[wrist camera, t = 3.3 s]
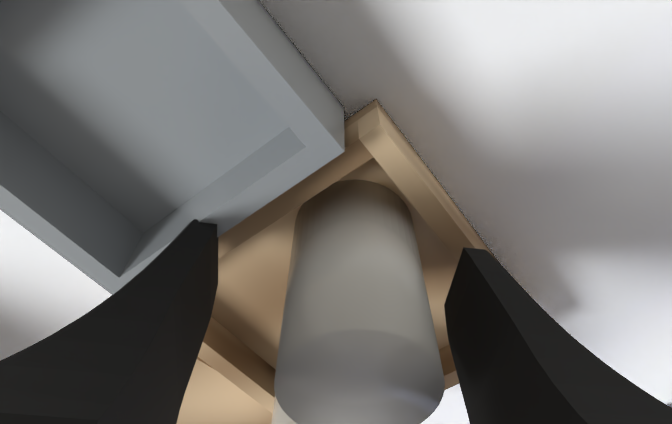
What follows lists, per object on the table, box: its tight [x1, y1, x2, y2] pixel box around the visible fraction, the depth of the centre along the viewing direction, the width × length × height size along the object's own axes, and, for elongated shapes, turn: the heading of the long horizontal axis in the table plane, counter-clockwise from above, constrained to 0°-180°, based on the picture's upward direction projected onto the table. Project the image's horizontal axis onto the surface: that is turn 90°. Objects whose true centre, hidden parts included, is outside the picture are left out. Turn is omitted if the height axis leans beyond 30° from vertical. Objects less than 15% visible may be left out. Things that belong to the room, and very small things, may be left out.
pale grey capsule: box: [274, 179, 445, 424], centre depth 13 cm, size 3×3×6 cm
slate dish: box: [0, 0, 345, 295], centre depth 12 cm, size 7×7×2 cm
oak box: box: [198, 99, 498, 414], centre depth 16 cm, size 9×9×2 cm
